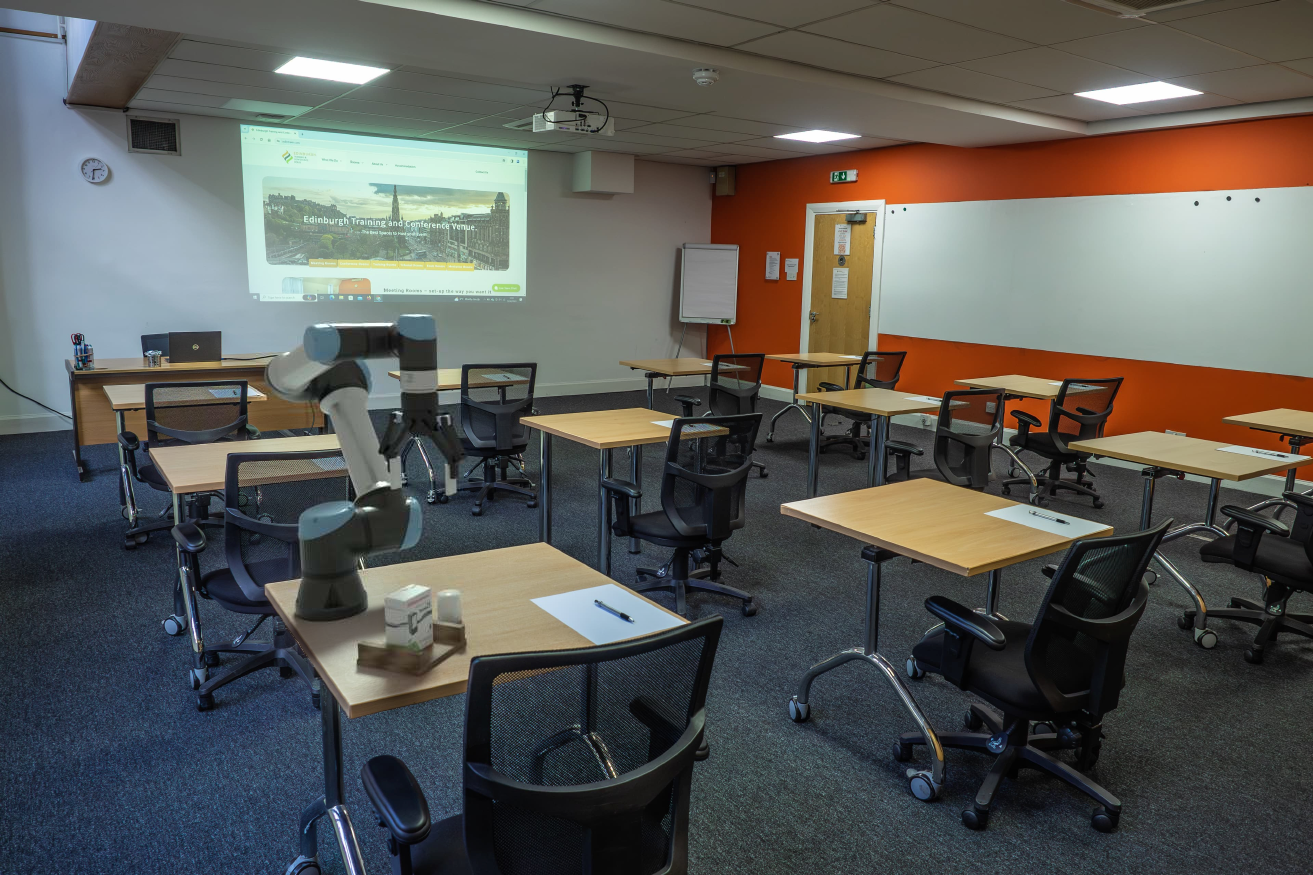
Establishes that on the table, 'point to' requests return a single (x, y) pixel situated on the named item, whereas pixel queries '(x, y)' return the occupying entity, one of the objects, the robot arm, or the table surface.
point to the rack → (413, 651)
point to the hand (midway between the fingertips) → (423, 491)
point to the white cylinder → (449, 606)
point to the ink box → (409, 617)
